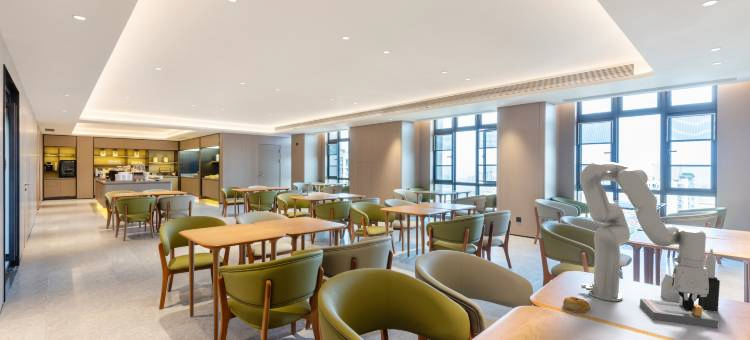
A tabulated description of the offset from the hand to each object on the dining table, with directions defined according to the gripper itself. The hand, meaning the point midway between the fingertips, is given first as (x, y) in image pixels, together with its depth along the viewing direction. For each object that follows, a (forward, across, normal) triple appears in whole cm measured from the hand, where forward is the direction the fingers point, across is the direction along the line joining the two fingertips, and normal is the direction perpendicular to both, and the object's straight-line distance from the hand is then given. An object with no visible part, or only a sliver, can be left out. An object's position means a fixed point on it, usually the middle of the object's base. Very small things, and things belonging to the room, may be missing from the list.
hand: (687, 309), depth 139 cm
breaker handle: (+1, +3, 0) cm, 3 cm away
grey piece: (+5, +4, +25) cm, 26 cm away
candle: (+5, +14, +18) cm, 23 cm away
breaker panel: (+5, -2, +4) cm, 6 cm away
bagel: (+5, -38, -2) cm, 38 cm away
